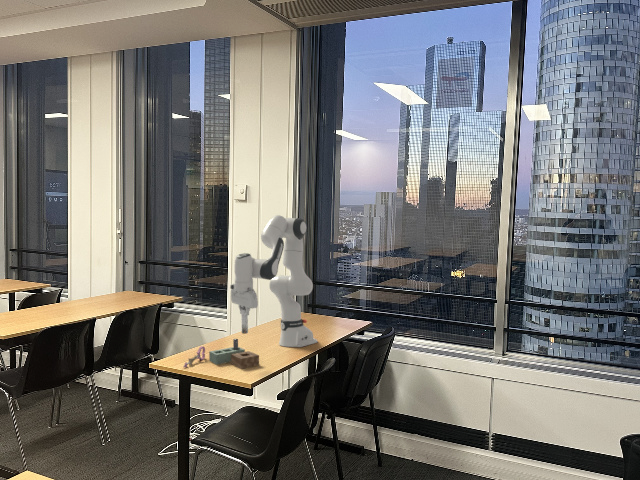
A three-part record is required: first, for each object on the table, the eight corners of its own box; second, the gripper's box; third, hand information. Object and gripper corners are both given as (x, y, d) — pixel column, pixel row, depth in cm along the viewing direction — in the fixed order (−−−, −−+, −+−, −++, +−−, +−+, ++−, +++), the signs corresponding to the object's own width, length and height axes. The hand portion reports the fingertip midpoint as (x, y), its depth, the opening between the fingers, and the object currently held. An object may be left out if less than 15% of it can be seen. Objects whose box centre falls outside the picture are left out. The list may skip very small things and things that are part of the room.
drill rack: (237, 355, 286) (237, 346, 286) (244, 359, 280) (244, 349, 279) (209, 361, 276) (209, 351, 276) (216, 364, 270) (216, 354, 270)
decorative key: (182, 374, 265) (204, 357, 283) (184, 374, 264) (206, 357, 283) (181, 361, 263) (202, 344, 281) (183, 361, 263) (204, 345, 281)
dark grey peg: (236, 357, 283) (236, 338, 282) (239, 358, 281) (238, 339, 280) (232, 358, 281) (232, 339, 281) (235, 359, 279) (234, 340, 279)
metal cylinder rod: (246, 331, 271) (245, 304, 270) (249, 333, 268) (248, 304, 267) (240, 332, 269) (240, 304, 268) (243, 334, 266) (243, 305, 265)
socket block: (248, 360, 277) (248, 351, 276) (259, 365, 269) (259, 355, 268) (231, 364, 270) (231, 354, 270) (241, 369, 263) (241, 358, 262)
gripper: (260, 288, 261) (261, 317, 262) (239, 283, 277) (240, 310, 278) (249, 290, 257) (249, 319, 258) (228, 285, 273) (229, 312, 274)
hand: (244, 314), depth 268 cm, fingers closed on metal cylinder rod, 3 cm apart
